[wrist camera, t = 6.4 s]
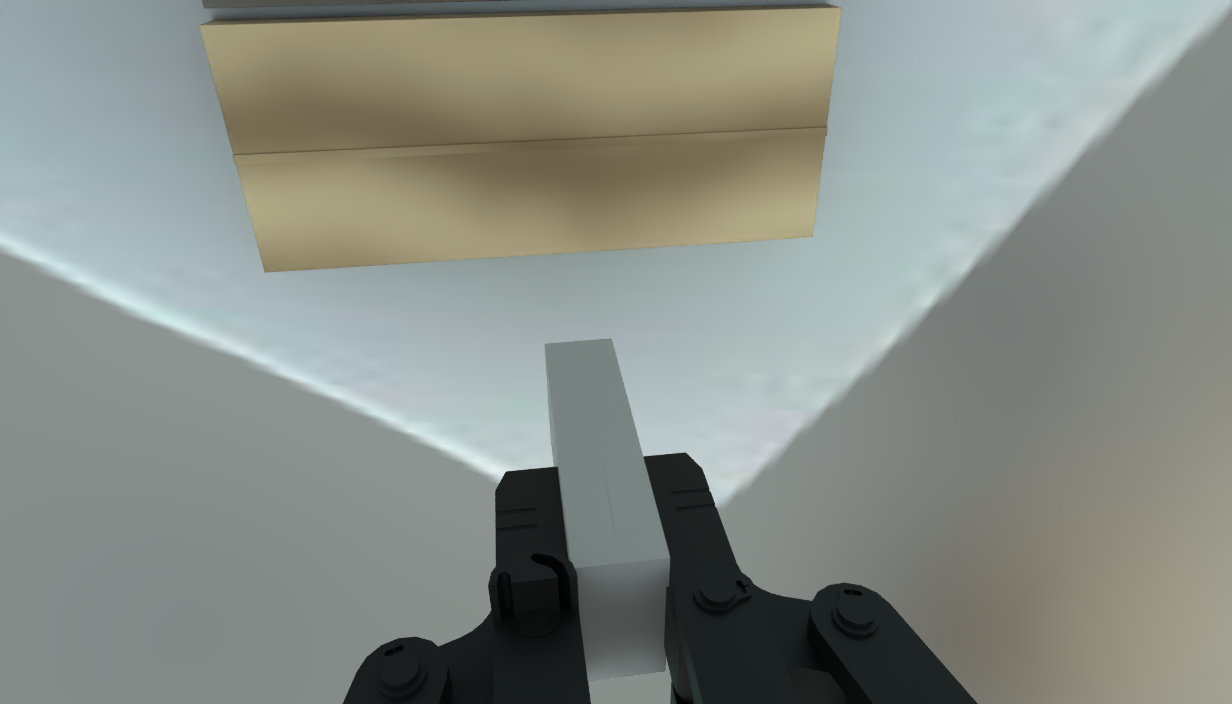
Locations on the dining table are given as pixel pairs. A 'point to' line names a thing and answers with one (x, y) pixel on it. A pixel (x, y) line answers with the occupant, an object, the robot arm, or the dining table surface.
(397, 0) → the laid floor
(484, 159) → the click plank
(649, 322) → the dining table surface
